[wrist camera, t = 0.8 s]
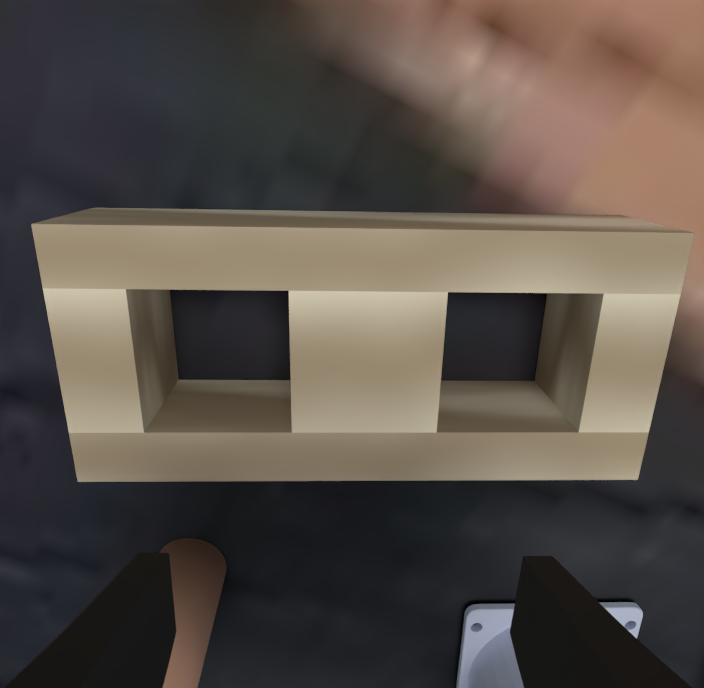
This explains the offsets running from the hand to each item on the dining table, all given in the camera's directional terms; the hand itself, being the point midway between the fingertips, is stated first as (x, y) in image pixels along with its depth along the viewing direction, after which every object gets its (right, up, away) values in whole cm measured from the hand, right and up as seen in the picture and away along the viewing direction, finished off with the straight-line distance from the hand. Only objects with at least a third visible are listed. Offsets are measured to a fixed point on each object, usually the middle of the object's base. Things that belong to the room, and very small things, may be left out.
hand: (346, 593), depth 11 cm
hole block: (0, +6, +9) cm, 11 cm away
